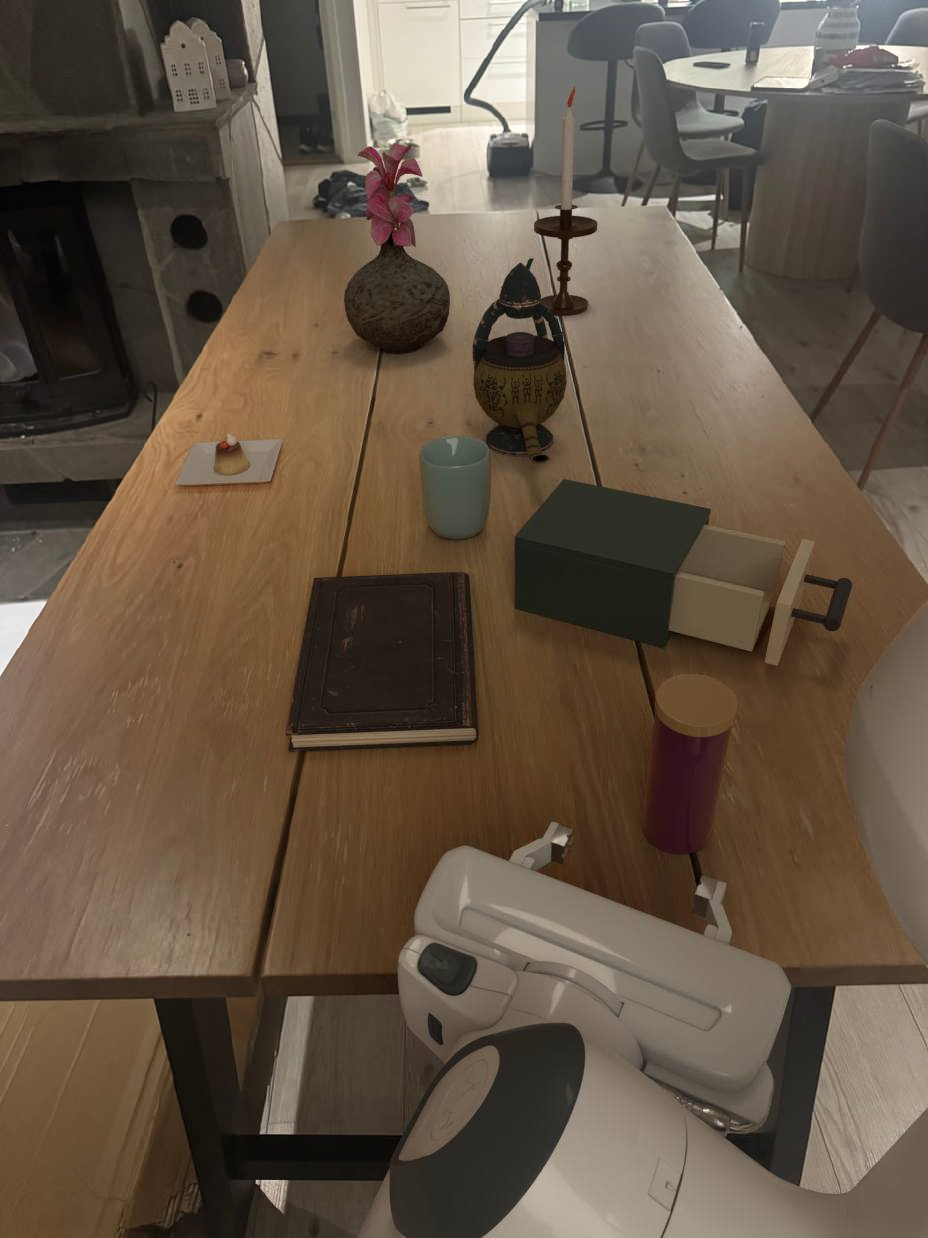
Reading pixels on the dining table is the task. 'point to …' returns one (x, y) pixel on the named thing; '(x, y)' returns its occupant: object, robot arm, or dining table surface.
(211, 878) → the dining table surface
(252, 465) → the dessert
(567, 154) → the candlestick
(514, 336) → the teapot
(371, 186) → the vase
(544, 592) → the cabinet
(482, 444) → the cup
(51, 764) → the dining table surface
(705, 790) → the canister
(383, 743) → the hardcover book
